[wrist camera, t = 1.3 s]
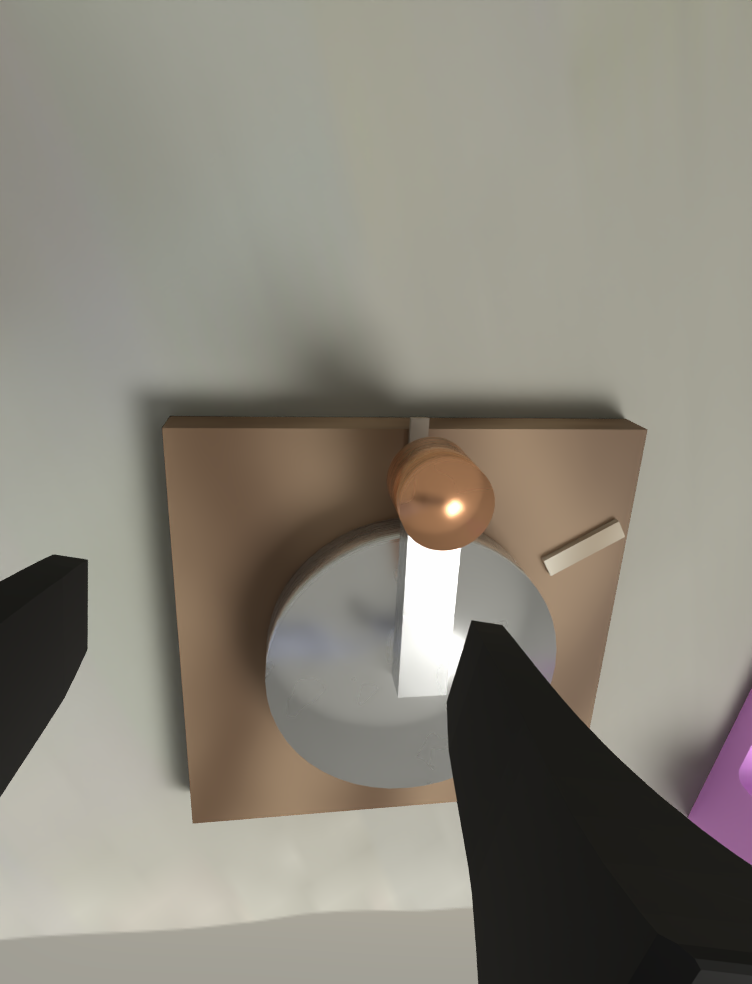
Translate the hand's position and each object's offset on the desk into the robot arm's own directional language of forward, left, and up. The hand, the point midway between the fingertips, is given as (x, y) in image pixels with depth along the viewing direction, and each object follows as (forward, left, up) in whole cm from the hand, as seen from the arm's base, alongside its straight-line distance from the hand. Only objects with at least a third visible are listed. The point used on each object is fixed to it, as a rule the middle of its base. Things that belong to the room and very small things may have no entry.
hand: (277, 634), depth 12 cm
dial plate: (+4, -7, -11) cm, 13 cm away
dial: (+4, -5, -9) cm, 11 cm away
